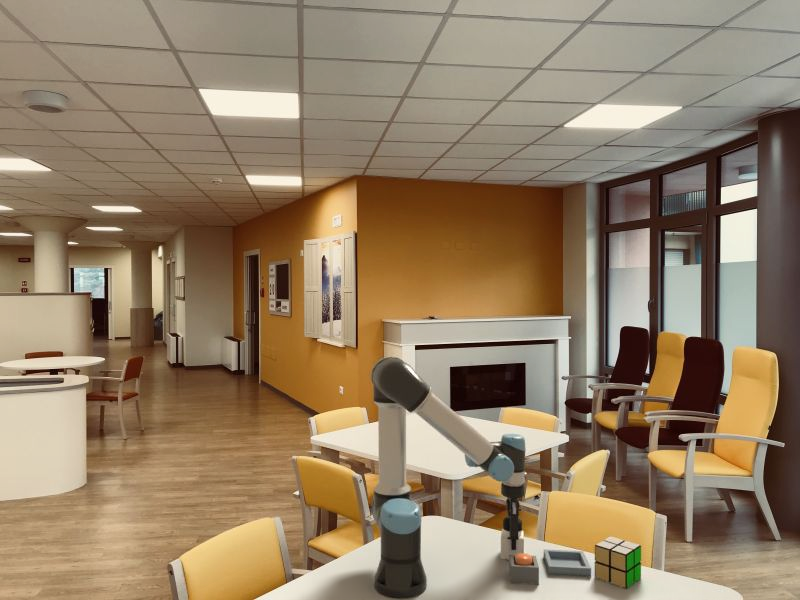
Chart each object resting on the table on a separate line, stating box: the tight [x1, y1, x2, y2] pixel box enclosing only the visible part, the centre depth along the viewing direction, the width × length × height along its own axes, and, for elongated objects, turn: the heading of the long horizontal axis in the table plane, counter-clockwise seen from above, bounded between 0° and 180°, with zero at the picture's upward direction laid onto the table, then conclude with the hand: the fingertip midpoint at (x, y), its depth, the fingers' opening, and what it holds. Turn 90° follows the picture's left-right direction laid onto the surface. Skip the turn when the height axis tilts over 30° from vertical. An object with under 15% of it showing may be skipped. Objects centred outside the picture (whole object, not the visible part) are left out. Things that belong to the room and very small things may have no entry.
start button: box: [515, 553, 533, 566], centre depth 182 cm, size 5×5×2 cm
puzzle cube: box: [594, 536, 642, 589], centre depth 182 cm, size 10×10×10 cm
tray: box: [543, 549, 592, 578], centre depth 190 cm, size 12×12×2 cm
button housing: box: [508, 555, 540, 586], centre depth 182 cm, size 8×8×5 cm
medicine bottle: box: [500, 516, 525, 561], centre depth 197 cm, size 7×7×12 cm
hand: (512, 553), depth 198 cm, fingers closed on medicine bottle, 7 cm apart
